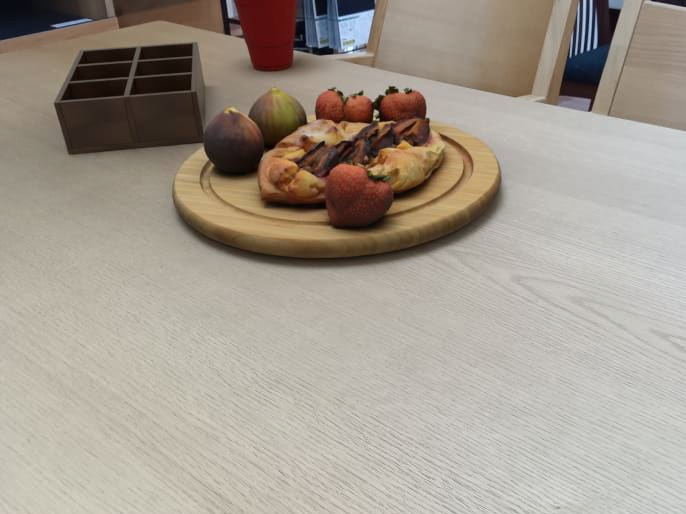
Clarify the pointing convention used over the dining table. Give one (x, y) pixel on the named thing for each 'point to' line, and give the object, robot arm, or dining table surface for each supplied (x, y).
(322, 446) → the dining table surface
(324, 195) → the wooden plate
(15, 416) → the dining table surface
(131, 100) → the rack
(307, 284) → the dining table surface
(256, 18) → the plastic cup
